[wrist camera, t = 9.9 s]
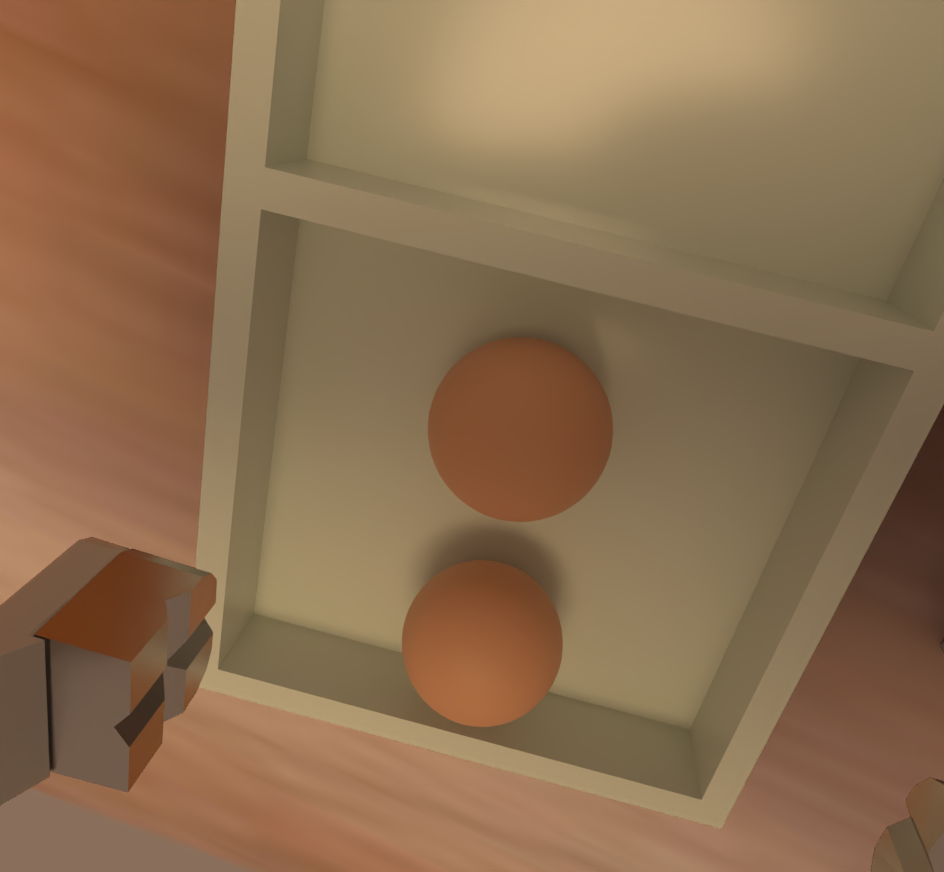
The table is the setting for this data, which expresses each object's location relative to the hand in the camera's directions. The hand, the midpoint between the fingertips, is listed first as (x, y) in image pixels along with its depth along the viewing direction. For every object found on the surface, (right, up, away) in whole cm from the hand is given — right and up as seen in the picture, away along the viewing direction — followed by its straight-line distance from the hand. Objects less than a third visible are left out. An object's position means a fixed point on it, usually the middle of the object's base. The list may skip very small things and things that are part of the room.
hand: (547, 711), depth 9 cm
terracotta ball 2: (0, -1, +12) cm, 12 cm away
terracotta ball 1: (+1, +4, +10) cm, 10 cm away
